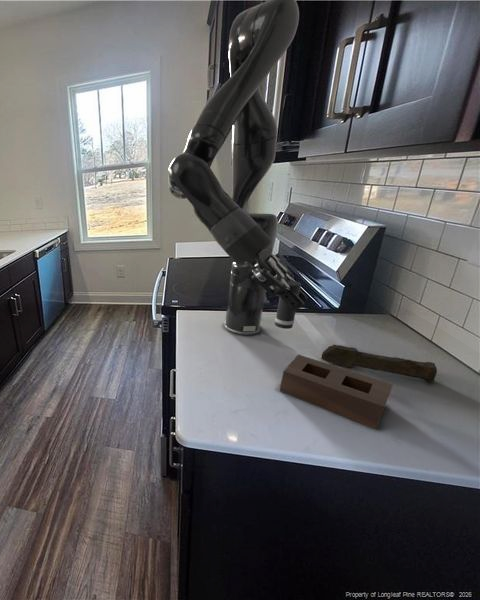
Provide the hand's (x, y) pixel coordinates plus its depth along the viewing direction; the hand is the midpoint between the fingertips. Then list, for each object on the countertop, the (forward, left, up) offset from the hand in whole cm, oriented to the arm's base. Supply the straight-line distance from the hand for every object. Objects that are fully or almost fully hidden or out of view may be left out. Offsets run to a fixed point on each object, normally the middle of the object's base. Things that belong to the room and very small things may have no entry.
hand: (300, 304), depth 60 cm
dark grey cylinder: (0, -2, -5) cm, 5 cm away
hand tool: (-21, +11, -20) cm, 31 cm away
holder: (-4, +7, -20) cm, 21 cm away
